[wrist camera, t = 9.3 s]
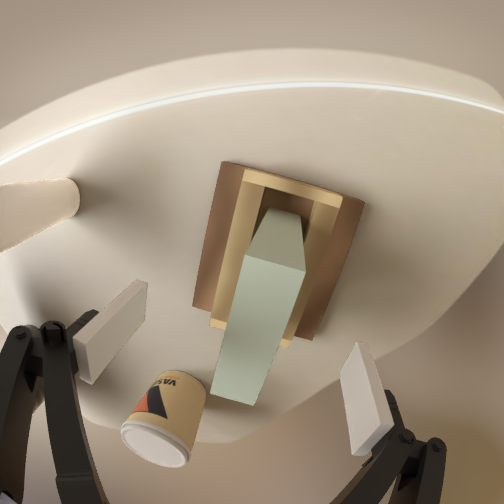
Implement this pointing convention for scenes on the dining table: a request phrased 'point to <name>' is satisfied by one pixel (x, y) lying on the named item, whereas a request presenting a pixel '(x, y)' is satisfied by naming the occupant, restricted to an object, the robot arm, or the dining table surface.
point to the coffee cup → (166, 420)
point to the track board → (245, 227)
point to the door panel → (260, 306)
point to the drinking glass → (34, 208)
